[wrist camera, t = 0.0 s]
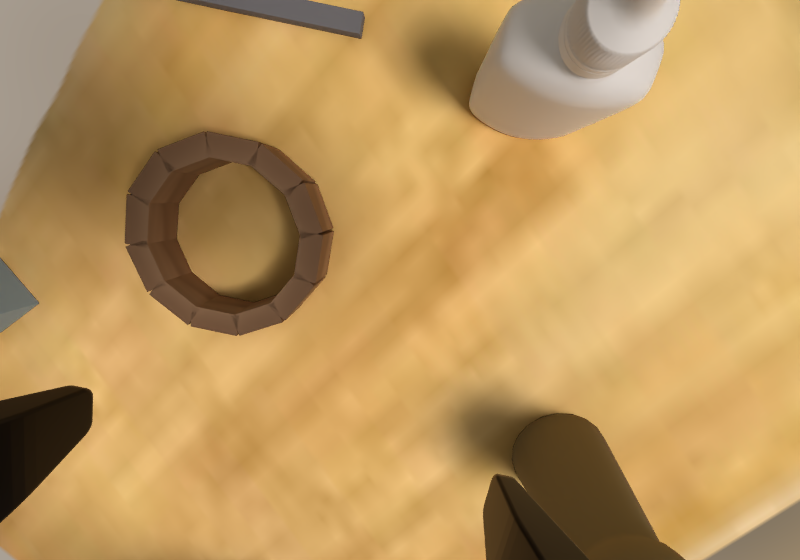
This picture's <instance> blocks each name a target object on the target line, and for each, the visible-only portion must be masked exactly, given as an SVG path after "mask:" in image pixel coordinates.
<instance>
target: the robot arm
mask: <svg viewBox="0 0 800 560" xmlns="http://www.w3.org/2000/svg"><path fill="white" fill-rule="evenodd" d="M92 416H93V394H92V392H91V390H89V389H87V388H82V387H78V386H64V387H60V388H55V389H51V390H46V391H42V392H37V393H33V394H28V395H24V396H19V397H15V398H10V399H6V400H1V401H0V523H1V522H2V521H3V520H4V519H5V518H6V517H7V516H8V515H9V514H10V513H12V512H13V511H14V510H15V509H16V508H17V507H18V506H19V505H20V504H21V503H22V502H23V501H24V500H25V499H26V498H27V497H28V496H29V495H30V494H31V493H32V492H33V491H34V490H35V489H36V488H37V487H38V486H39V485H40V484H41V482H42V481H43V480H44V479H45V478H46V477H47V476H48V475H49V474H50V473H51V472H52V471H53V470H54V469H55V467H56V466H57V465H58V464H59V463H60V462H61V461H62V460H63V459H64V458H65V457H66V456H67V455H68V453H69V452H70V451H71V450H72V449H73V448H74V447H75V446H76V445H77V444H78V443H79V442H80V441H81V439H82V438H83V437H84V436H85V435H86V434H87V433H88V431H89V429H90V427H91V425H92ZM483 521H484V535H485V548H486V560H590V559H589V558H588V557H587V556H586V555H585V554H584V553H583V552H582V551H581V550H580V549H579V548H578V546H577V545H576V544H575V543H574V542H573V541H572V540H571V539H570V538H569V537H568V536H567V535H566V534H565V532H564V531H563V530H562V529H561V528H560V527H559V526H558V525H557V524H556V523H555V522H554V521H553V520H552V518H551V517H550V516H549V515H548V514H547V513H546V512H545V511H544V510H543V509H542V508H541V507H540V506H539V504H538V503H537V502H536V501H535V500H534V499H533V498H532V497H531V496H530V495H529V494H528V493H527V492H526V490H525V489H524V488H523V487H522V486H521V485H520V484H519V483H518V482H517V481H516V480H515V479H514V478H513V477H509V476H505V475H500V474H496V475H494V476H493V478H492V480H491V484H490V487H489V490H488V493H487V497H486V500H485V504H484V509H483Z"/></svg>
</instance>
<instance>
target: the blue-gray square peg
mask: <svg viewBox="0 0 800 560" xmlns="http://www.w3.org/2000/svg"><path fill="white" fill-rule="evenodd" d="M38 304H39V302H38V301H37V300H36V299H35V298H34V297H33V295H32V294H31V293H30V292H29V291H28V290H27V288H26V287H25V286H24V285H23V284H22V283H21V281H20V280H19V279H18V278H17V277H16V276H15V275H14V273H13V272H12V271H11V270H10V269H9V268H8V266H7V265H6V264H5V263H4V262H3V261H2V259H1V258H0V332H2V331H3V330H5V329H6V328H7V327H9V326H10V325H11V324H13V323H14V322H15V321H17V320H18V319H19V318H21V317H22V316H23V315H24V314H26V313H27V312H28V311H30V310H31V309H32V308H34V307H35V306H36V305H38Z"/></svg>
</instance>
